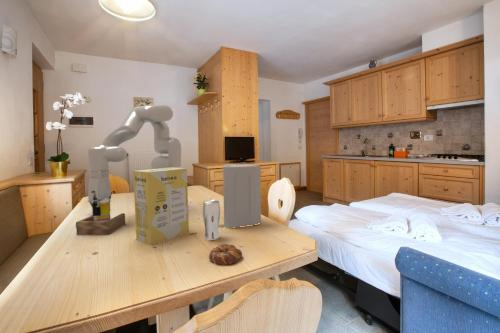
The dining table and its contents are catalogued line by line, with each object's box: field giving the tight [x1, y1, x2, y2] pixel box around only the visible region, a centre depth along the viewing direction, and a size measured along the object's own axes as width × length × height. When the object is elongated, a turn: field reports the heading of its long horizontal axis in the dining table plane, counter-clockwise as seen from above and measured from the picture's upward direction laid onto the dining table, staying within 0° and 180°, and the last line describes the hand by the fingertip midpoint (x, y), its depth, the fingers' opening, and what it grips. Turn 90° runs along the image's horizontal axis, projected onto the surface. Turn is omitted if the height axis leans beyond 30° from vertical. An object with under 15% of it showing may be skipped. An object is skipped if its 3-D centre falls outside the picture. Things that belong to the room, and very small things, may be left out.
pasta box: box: [132, 167, 190, 246], centre depth 106 cm, size 18×10×28 cm, turn 143°
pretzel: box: [208, 243, 243, 266], centre depth 86 cm, size 12×11×4 cm
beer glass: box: [202, 199, 221, 241], centre depth 103 cm, size 7×7×15 cm
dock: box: [75, 213, 126, 236], centre depth 116 cm, size 14×14×6 cm
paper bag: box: [222, 163, 262, 229], centre depth 121 cm, size 19×15×28 cm
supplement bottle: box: [93, 198, 112, 221], centre depth 116 cm, size 7×7×13 cm
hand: (101, 213), depth 116 cm, fingers closed on supplement bottle, 6 cm apart
